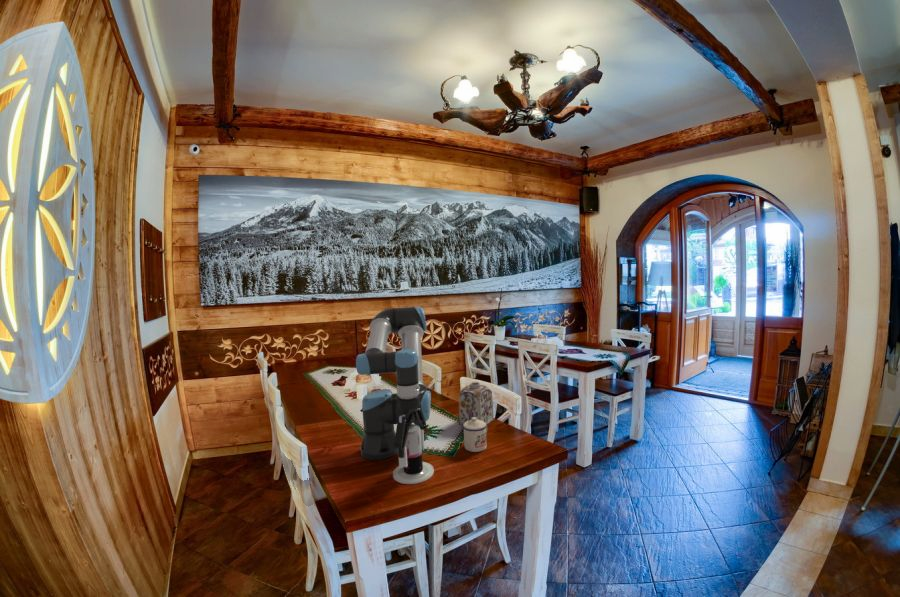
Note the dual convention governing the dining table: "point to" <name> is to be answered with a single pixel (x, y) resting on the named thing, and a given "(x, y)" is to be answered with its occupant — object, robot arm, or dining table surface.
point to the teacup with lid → (475, 435)
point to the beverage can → (414, 451)
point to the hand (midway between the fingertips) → (412, 456)
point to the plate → (413, 479)
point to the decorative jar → (475, 403)
